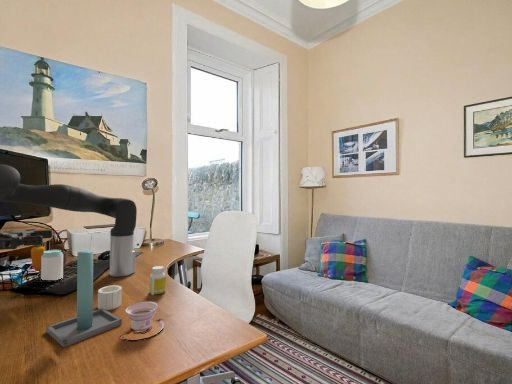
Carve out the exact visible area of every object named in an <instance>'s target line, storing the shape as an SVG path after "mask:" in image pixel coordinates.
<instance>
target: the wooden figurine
mask: <svg viewBox="0 0 512 384" xmlns="http://www.w3.org/2000/svg"><path fill="white" fill-rule="evenodd" d="M55 239H56V240H55ZM50 250H61V252H62V253H63V268H64V267H65V266H66V263H67V259H68V254H67V252H66V251H65V244H64V242H63V239H61V238H59V237H58V236H57V237H56V238H55V236H54V235H52V245H51V248H50Z"/></svg>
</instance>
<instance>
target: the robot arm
mask: <svg viewBox="0 0 512 384" xmlns="http://www.w3.org/2000/svg"><path fill="white" fill-rule="evenodd" d="M0 202H6V203H19V204H28V205H35V206H40V207H48V208H53V209H58V210H63V211H69V212H77V213H78V212H80V213H96V214H99V215H102V216H103V215H104V216H107V217H110V218H113V219H115V222H114V226H113V227H112V228H111V229H110V237H109V238H110V241H109V242H110V245H109V249H110V250H109V276H110V277H114V278H115V277H117V278H119V277H120V278H121V277H127V276H129V275H132V274H133V273H136V251H135V250H134V239H135V238H134V232H135V229H136V226H137V215H138V214H137V205H136V203H135V202H134V200H132V199H130V198H123V197H111V196H110V197H109V196H102V195H99V194H95V193H93V192H91V191H88V190H86V189H83V188H80V187H78V186H77V187H75V186H72V185H67V184H61V183H60V184H57V183H56V184H55V183H54V184H45V185H43V184H42V185H31V184H30V185H29V184H23V183H21V175H20V172H19V171H18V169H16V168H15V167H13V166H11V165H8V164H4V163H3V164H2V163H0ZM27 234H29V235H27ZM51 238H53V230H52V229H46V230H45V229H44V230H43V229H42V230H36V228H29V229H14V230H13V229H9V230H3V232H0V251H3V250H4V251H5V250H16V249H18V248H22V247H23V248H24V247H26V246H28V247H30V246H36V245H41V246H42V245H43V244H44V239H51Z"/></svg>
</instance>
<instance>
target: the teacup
mask: <svg viewBox="0 0 512 384" xmlns="http://www.w3.org/2000/svg"><path fill="white" fill-rule="evenodd" d="M158 306H159V304H158V303H157V302H155V301H142V302H141V301H140V302H137V303H134V304H131V305H129V306H127V307H126V309H125V310H124V311H125V313H126V315H128V316H129V319H130V321H131V322H130V327H131V329H132V330H134V332H135V331H140V332H141V331H145V330H147V329H148V330H149V328H151V327H150V326H151V325H152V322H153V318H154V317H155V315H156V313H157V310H158ZM156 321H158V322H160V323H161V324H162V328H161V330H162V329H163V328H164V329H165V323H164V321H163V320H161V319H157V320H156ZM164 329H163V330H164ZM148 330H147V331H148ZM161 330H160V331H161ZM163 330H162V331H163ZM160 331H159V332H160ZM162 331H161V332H162ZM145 332H146V331H145ZM161 332H160V333H161ZM156 334H157V333H156ZM157 335H158V334H157ZM119 336H120V337H121V336H122V335H119ZM120 337H119V338H120ZM122 338H124V337H122ZM145 338H146V337H145ZM124 339H127V338H124ZM124 339H123V340H124ZM141 339H142V338H141ZM133 340H135V339H133Z"/></svg>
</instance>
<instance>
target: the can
mask: <svg viewBox="0 0 512 384" xmlns="http://www.w3.org/2000/svg"><path fill="white" fill-rule="evenodd" d="M40 272H41V273H40V280H41V279H42V280H58V279H61V278H62V279H63V278H64V277H63V276H64V267H63V253H62V252H61V250H51V249H49V250H46V251H44V254H43V255H42V256H41V270H40ZM62 279H61V280H62Z"/></svg>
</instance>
